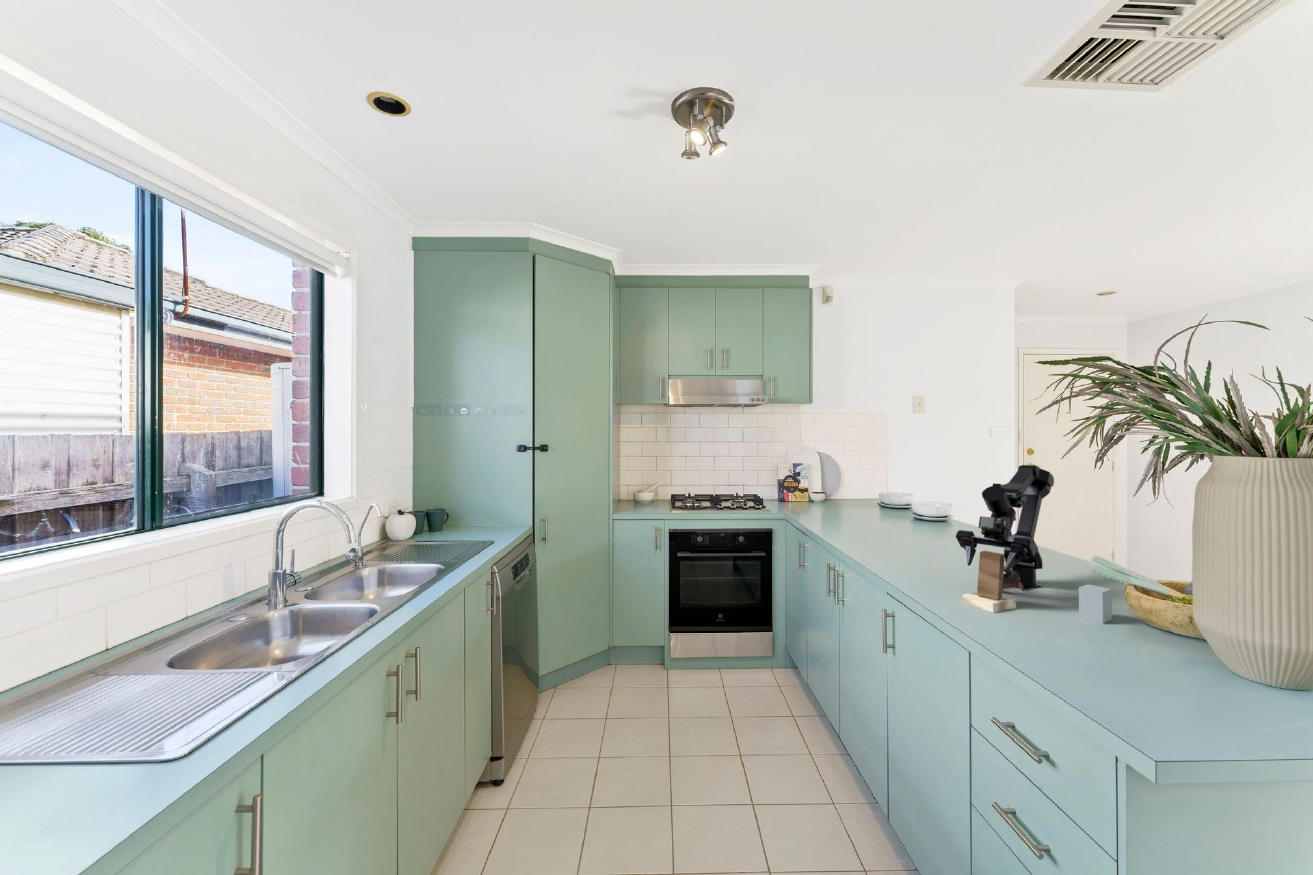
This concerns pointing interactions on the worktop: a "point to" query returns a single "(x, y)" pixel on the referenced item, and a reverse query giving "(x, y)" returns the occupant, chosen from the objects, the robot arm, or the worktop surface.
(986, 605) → the birch block
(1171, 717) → the worktop surface
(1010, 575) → the pottery mug
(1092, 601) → the grey block
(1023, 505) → the robot arm
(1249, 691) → the worktop surface
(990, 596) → the walnut block
